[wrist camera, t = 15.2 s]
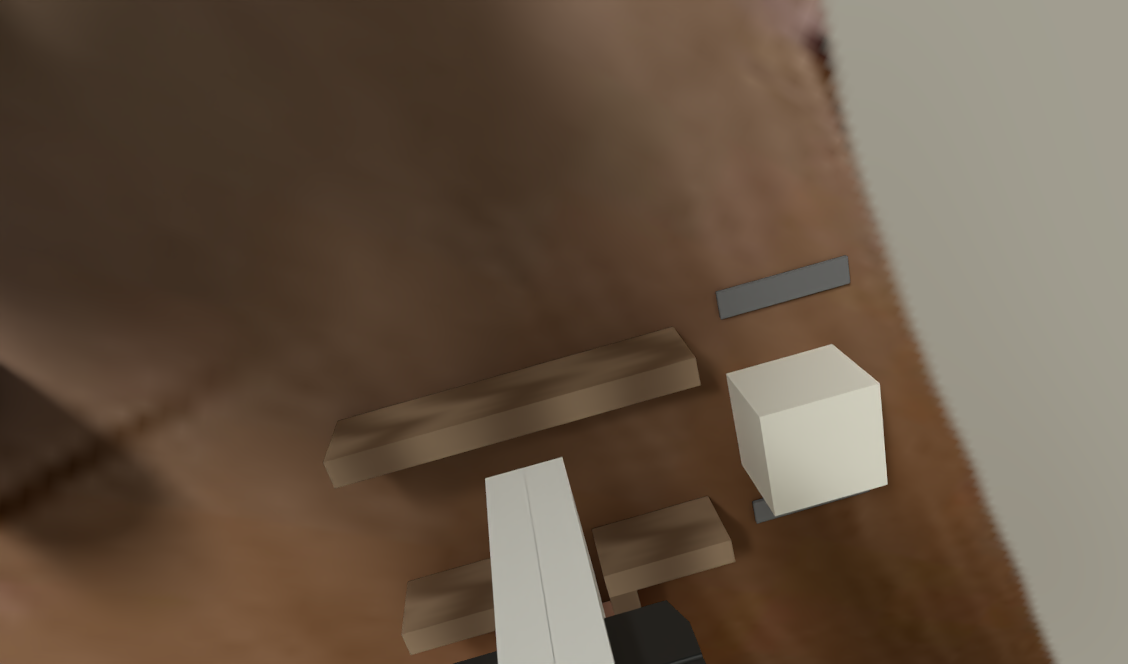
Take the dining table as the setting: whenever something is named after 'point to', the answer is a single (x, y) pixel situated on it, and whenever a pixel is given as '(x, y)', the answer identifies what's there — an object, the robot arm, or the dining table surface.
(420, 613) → the wooden bar frame
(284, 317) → the dining table surface
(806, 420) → the block
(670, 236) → the dining table surface
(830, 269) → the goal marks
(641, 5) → the dining table surface
